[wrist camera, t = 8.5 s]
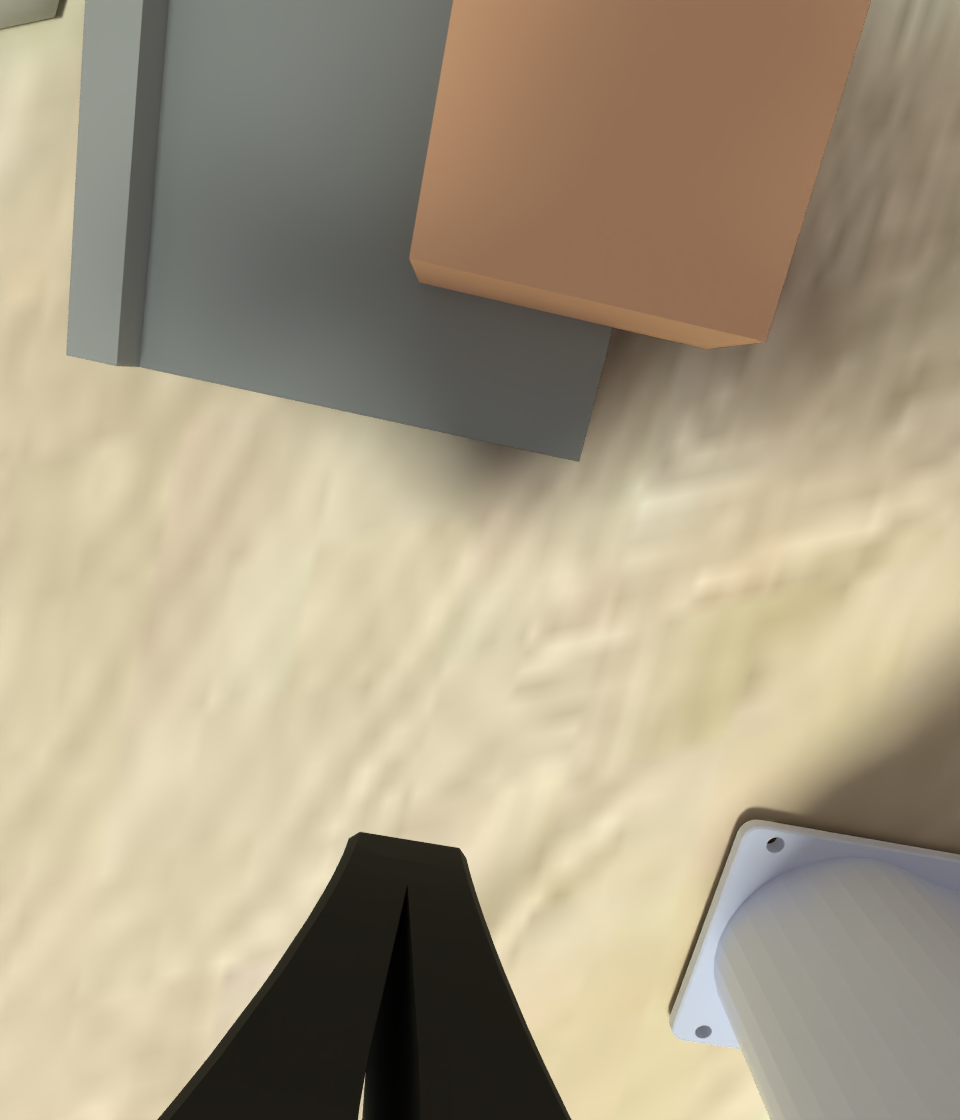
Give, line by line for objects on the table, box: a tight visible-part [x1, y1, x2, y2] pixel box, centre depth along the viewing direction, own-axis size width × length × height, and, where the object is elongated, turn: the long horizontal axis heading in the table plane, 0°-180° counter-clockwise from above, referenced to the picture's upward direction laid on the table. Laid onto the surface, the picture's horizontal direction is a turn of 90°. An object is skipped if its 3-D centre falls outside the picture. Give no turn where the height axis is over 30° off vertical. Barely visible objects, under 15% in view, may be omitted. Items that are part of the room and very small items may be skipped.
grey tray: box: [66, 0, 613, 462], centre depth 13 cm, size 11×14×2 cm
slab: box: [409, 0, 871, 349], centre depth 12 cm, size 3×8×6 cm
